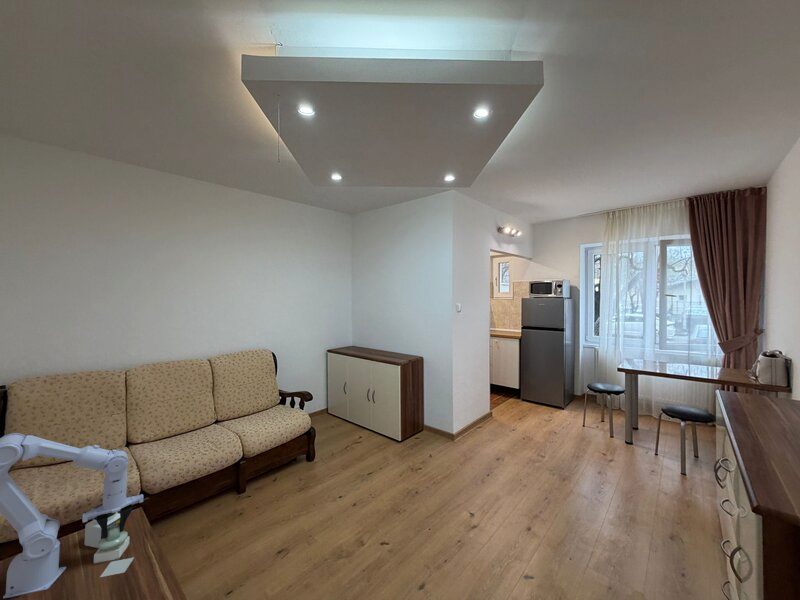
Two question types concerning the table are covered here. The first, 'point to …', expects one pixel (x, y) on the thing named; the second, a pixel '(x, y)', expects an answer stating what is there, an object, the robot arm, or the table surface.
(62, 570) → the robot arm
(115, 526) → the lid
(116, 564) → the mat
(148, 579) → the table surface
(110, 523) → the medicine bottle
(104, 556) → the dish
